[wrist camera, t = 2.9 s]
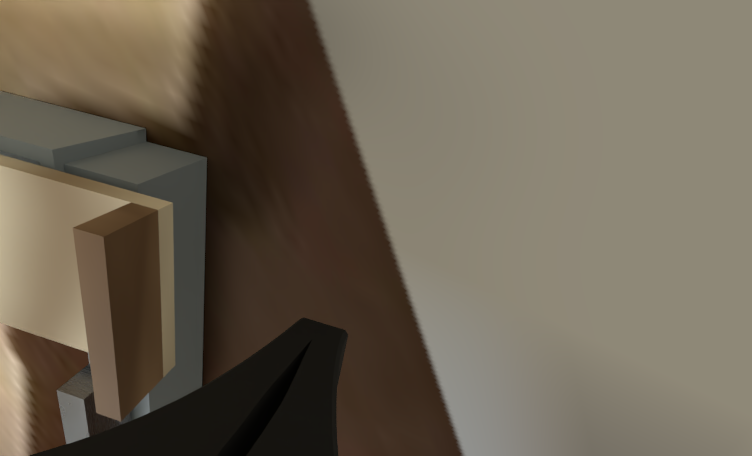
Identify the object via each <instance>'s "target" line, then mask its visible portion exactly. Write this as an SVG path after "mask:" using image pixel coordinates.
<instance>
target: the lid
mask: <svg viewBox="0 0 752 456" xmlns="http://www.w3.org/2000/svg"><path fill="white" fill-rule="evenodd" d="M0 323H2V324H5V325H8V326H11V327H14V328H17V329H20V330H23V331H26V332H29V333H32V334H35V335H38V336H41V337H44V338H47V339H50V340H53V341H56V342H59V343H62V344H65V345H68V346H71V347H74V348H77V349H80V350H83V351H86V352H89V360H90V367H91V375H92V383H93V391H94V399H95V406H96V413H98V414H101V415H103V416H106V417H109V418H112V419H115V420H117V421H120V422H121V421H122V420H123V419H124V418H125V417H126V416H127V415H128V414H129V413H130V412H131V411H132V410H133V409H134V408H135V407H136V406H137V405H138V403H139V402H140V401H141V400H142V399H143V398H144V397H145V396H146V395H147V394H148V393H149V392H150V391H151V390H152V389H153V388H154V387H155V386H156V385H157V384H158V383H159V382H160V381H161V380H162V378H163V377H164V376H165V375H166V374H167V373H168V372H169V371H170V370H171V369H172V368H173V367H174V366H175V310H174V243H173V203H172V202H169V201H165V200H161V199H158V198H154V197H151V196H147V195H144V194H140V193H136V192H133V191H129V190H126V189H122V188H119V187H115V186H111V185H108V184H104V183H101V182H97V181H94V180H90V179H86V178H83V177H79V176H76V175H72V174H68V173H65V172H61V171H58V170H54V169H51V168H47V167H43V166H40V165H36V164H33V163H29V162H26V161H22V160H18V159H15V158H11V157H8V156H4V155H1V154H0Z"/></svg>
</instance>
